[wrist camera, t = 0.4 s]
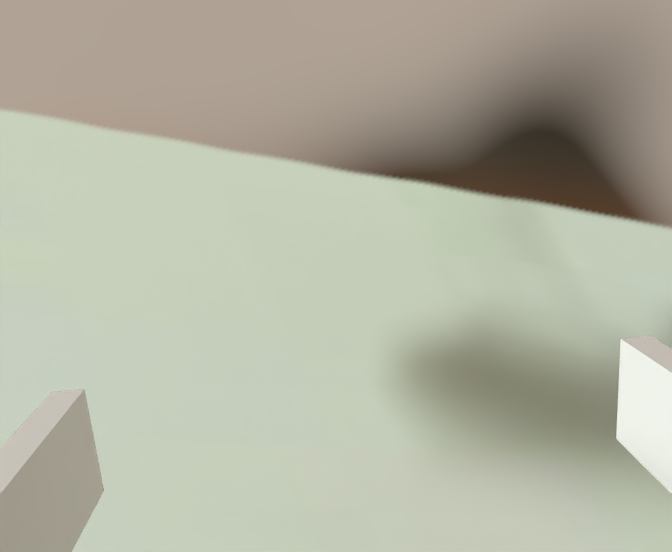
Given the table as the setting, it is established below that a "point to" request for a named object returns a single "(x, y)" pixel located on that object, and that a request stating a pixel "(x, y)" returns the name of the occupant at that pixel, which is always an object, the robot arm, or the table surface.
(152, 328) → the table surface
